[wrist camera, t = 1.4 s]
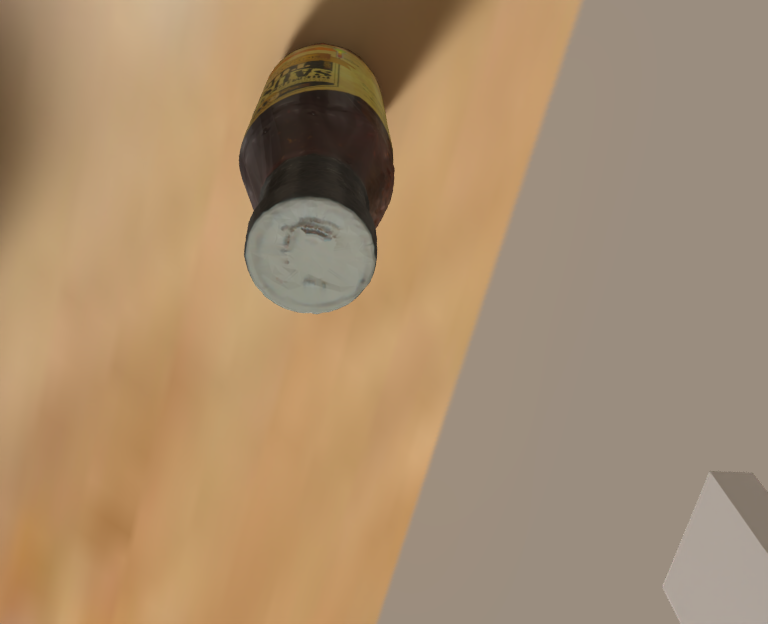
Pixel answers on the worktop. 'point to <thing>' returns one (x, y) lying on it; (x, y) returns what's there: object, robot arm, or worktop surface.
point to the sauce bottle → (316, 179)
